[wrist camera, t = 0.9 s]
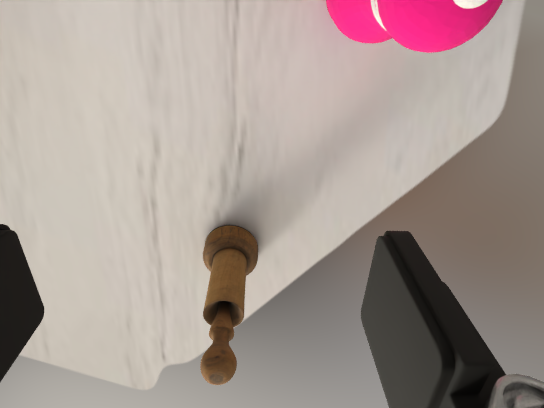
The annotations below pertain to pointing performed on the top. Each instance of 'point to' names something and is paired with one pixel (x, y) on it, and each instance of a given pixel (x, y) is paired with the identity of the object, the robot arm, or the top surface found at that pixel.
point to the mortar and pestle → (225, 296)
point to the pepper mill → (413, 21)
